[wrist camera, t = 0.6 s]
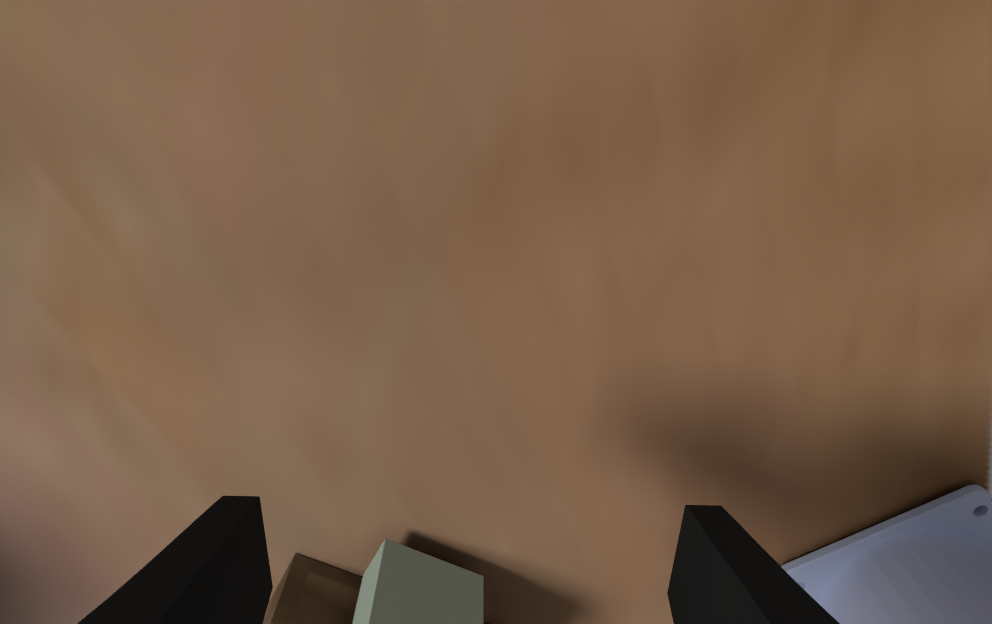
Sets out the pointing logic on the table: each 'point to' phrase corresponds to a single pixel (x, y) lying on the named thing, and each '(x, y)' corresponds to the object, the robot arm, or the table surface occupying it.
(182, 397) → the table surface
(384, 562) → the lid
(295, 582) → the tub
